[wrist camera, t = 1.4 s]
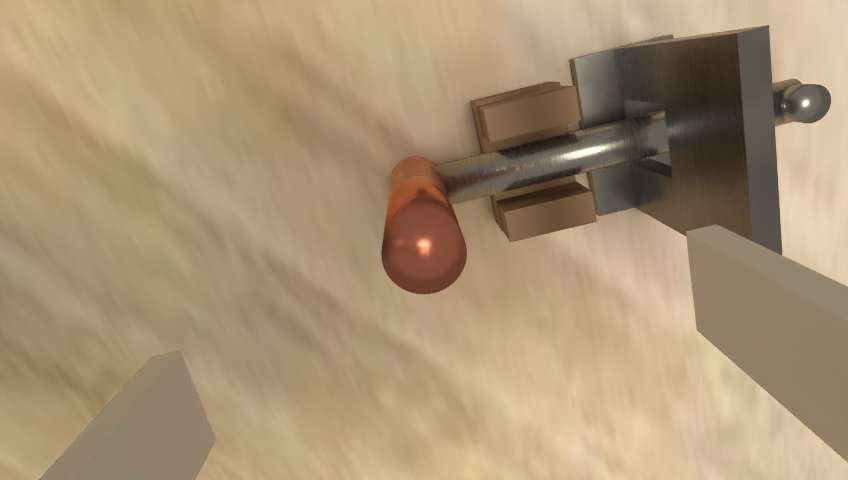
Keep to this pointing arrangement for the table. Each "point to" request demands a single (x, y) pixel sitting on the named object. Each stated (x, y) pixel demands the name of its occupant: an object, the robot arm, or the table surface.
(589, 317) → the table surface
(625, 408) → the table surface
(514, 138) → the cradle
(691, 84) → the eye bracket
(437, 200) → the hook
